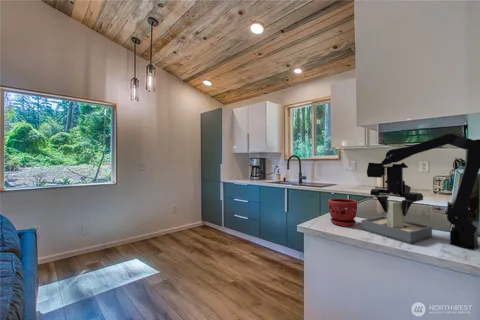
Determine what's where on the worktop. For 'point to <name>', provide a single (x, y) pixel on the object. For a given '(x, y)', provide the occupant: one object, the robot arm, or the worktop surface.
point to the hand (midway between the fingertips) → (395, 214)
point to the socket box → (397, 230)
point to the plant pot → (342, 211)
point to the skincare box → (395, 214)
